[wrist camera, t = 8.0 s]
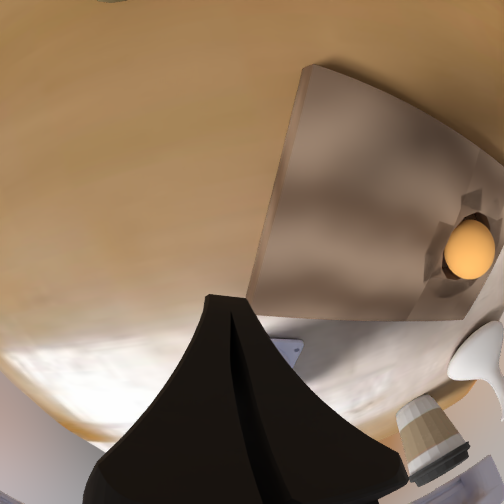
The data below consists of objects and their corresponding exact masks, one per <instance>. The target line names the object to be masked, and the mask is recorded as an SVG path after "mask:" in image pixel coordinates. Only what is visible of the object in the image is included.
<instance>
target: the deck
mask: <svg viewBox="0 0 504 504" xmlns="http://www.w3.org/2000/svg"><path fill="white" fill-rule="evenodd" d="M473 213H475V215H476V218H477V221H478V222H480V223H482V224H484V225H485V226H486V227H487V228H488V230H489V231H490V232H491V234H492V236H493V239H494V243H495V256H494V260H493V263H492V265H491V267H490V268H489V270H488V271H487V272H486V273H485V274H484V275H482V276H481V277H478V278H476V279H463V278H461V277H459V276H457V275H455V274H454V273H453V272H452V271H451V270H450V268H449V267H448V268H446V269H444V268H442V260H443V251H444V249H445V247H446V244H447V242H448V240H449V238H450V235H451V233H452V231H453V230H454V229H455V228H456V227H457V226H458V224H459V223H460V222H461V221H462V220H463V219H464V217H466V216H469V215H471V214H473ZM503 245H504V166H502V165H501V164H500V163H499V162H497V161H496V160H495V159H494V158H492V157H491V156H490V155H488V154H487V153H486V152H485V151H483V150H482V149H480V148H479V147H478V146H476V145H475V144H474V143H472V142H471V141H469V140H468V139H466V138H465V137H464V136H462V135H461V134H459V133H458V132H456V131H454V130H453V129H451V128H450V127H448V126H447V125H445V124H443V123H442V122H440V121H438V120H437V119H435V118H433V117H432V116H430V115H428V114H427V113H425V112H423V111H421V110H419V109H418V108H416V107H414V106H412V105H410V104H408V103H406V102H404V101H402V100H400V99H398V98H396V97H394V96H392V95H390V94H388V93H386V92H384V91H382V90H380V89H377V88H375V87H373V86H371V85H368V84H366V83H364V82H361V81H359V80H356V79H354V78H351V77H349V76H346V75H343V74H341V73H338V72H335V71H333V70H330V69H327V68H324V67H321V66H318V65H315V64H312V65H310V66H307V67H305V68H303V69H302V74H301V78H300V82H299V86H298V90H297V94H296V98H295V102H294V106H293V110H292V115H291V119H290V123H289V127H288V131H287V135H286V139H285V143H284V147H283V151H282V155H281V159H280V163H279V167H278V171H277V175H276V179H275V183H274V187H273V191H272V195H271V199H270V203H269V207H268V211H267V215H266V219H265V223H264V227H263V231H262V235H261V239H260V243H259V247H258V251H257V255H256V259H255V263H254V267H253V271H252V275H251V279H250V283H249V287H248V290H247V294H246V299H247V300H248V302H249V304H250V305H251V307H252V309H253V311H254V313H255V315H263V316H276V317H290V318H306V319H326V320H352V321H444V320H463V319H464V318H465V316H466V314H467V313H468V311H469V310H470V308H471V306H472V305H473V303H474V301H475V300H476V298H477V296H478V294H479V293H480V291H481V289H482V287H483V286H484V284H485V282H486V280H487V278H488V276H489V274H490V272H491V270H492V268H493V266H494V264H495V262H496V260H497V258H498V256H499V254H500V252H501V250H502V247H503Z"/></svg>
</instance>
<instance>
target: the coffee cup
mask: <svg viewBox="0 0 504 504" xmlns="http://www.w3.org/2000/svg"><path fill="white" fill-rule="evenodd" d="M396 418H397V420H396V421H397V425H398V428H399V432H400V436H401V440H402V444H403V447H404V451H405V456H406V459H407V464H408V468H409V473H410V476H409V477H408V478H409V479H410V482H415V483H416V484H417V486H418V487H420V486H422V485H425V484H426V483H429V482H430V481H432V480H434V479H436V478H438V477H439V476H441V475H443V474H445V473H446V472H448V471H450V470H451V469H453V468H454V467H456V466H457V465H459V464H460V463H462V462H463V461H465V460H466V459H467V458H468V457H469V455H468V452H467V450H468V449H469V448H470V445H469V442H465V440H464V439H463V438H462V436H461V435H460V433H459V432H458V431H457V430H456V428H455V427H454V425H453V424H452V422H451V421H450V420H449V418H448V417H447V416H446V414H445V413H444V412H443V410H442V409H441V408H440V406H439V405H438V404H437V402H436V401H435V400H434V398H432V397H431V396H430V395H428V394H426V395H422V396H420V397H418V398H416V399H414V400H412V401H411V402H409V403H407V404H406V405H405V406H403V407H402V408H401V409H400V410H399V411H398V412H397V414H396Z"/></svg>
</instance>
